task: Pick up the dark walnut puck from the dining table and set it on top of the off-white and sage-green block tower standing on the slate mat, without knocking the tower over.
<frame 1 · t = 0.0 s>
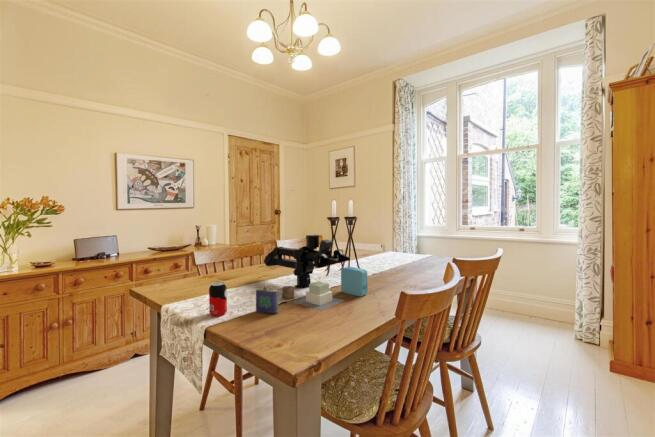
hand: (343, 260, 138), 17 cm above the table, tool horizontal, fingers open, 9 cm apart
tower top: (319, 292, 131), point 4 cm above the table, touching tower base
slate mat: (319, 302, 131), on the table
data package: (354, 294, 142), on the table
beverage can: (218, 314, 118), on the table
tower base: (319, 301, 131), resting on slate mat, touching tower top
flask: (266, 312, 119), on the table
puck: (288, 298, 136), on the table
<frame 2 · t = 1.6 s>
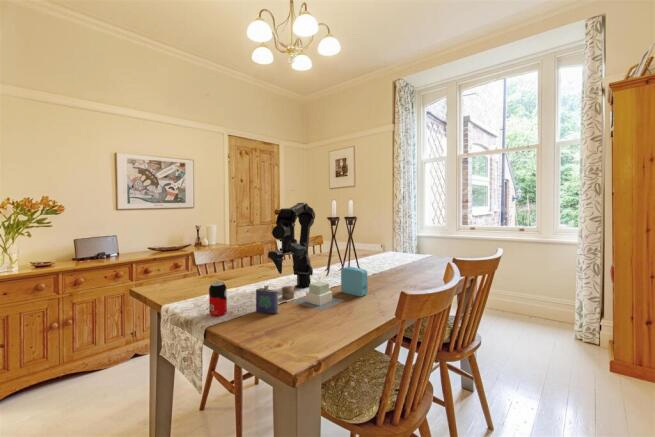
hand: (288, 271, 135), 12 cm above the table, tool pointing down, fingers open, 9 cm apart
nothing on the table moved.
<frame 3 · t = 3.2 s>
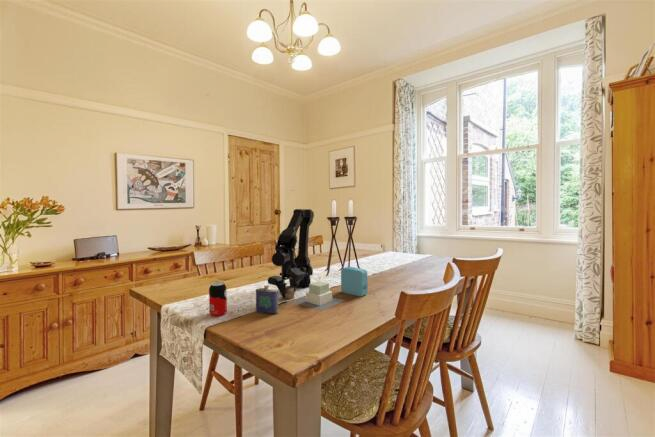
hand: (288, 296, 136), 1 cm above the table, tool pointing down, fingers closed on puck, 5 cm apart
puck: (288, 298, 136), on the table, touching gripper
everything else where it was.
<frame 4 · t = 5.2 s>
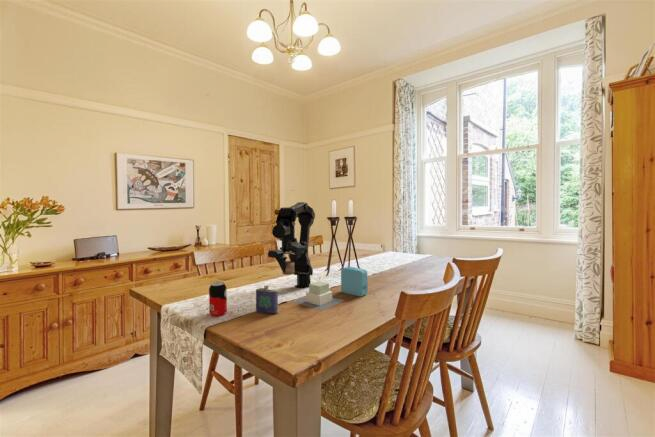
hand: (288, 270, 135), 12 cm above the table, tool pointing down, fingers closed on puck, 5 cm apart
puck: (288, 273, 135), point 11 cm above the table, touching gripper
everything else where it was.
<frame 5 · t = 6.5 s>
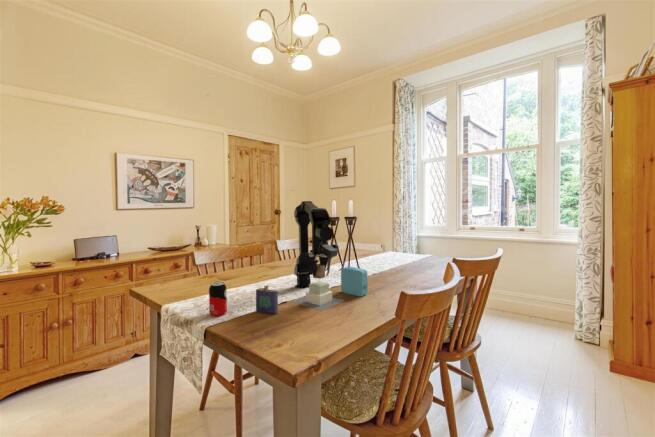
hand: (318, 274, 130), 12 cm above the table, tool pointing down, fingers closed on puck, 5 cm apart
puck: (318, 276, 130), point 11 cm above the table, touching gripper
everything else where it was.
when the fingers open (10 cm above the table, at t = 7.3 s): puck stays where it is, resting on tower top.
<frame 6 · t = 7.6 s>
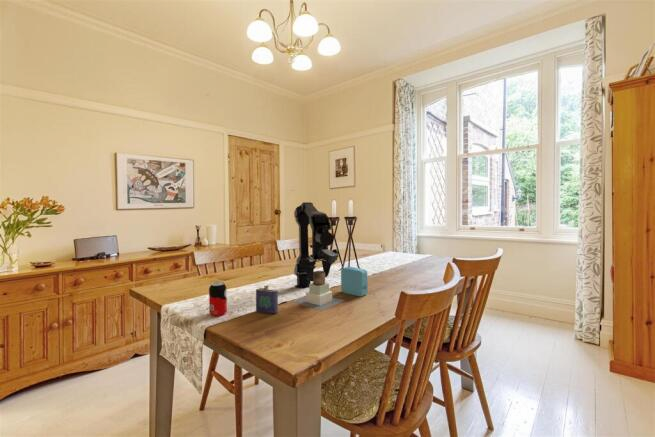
hand: (319, 279, 130), 10 cm above the table, tool pointing down, fingers open, 9 cm apart
tower top: (319, 292, 131), point 4 cm above the table, touching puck, tower base
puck: (319, 283, 131), point 8 cm above the table, touching tower top
everything else where it was.
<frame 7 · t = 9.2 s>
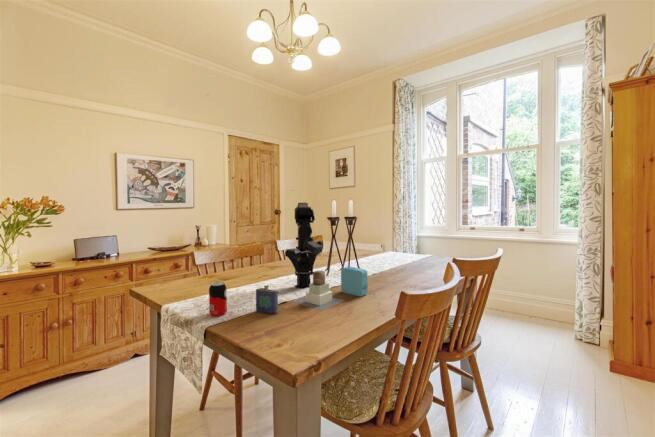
hand: (304, 269, 136), 13 cm above the table, tool pointing down, fingers open, 9 cm apart
nothing on the table moved.
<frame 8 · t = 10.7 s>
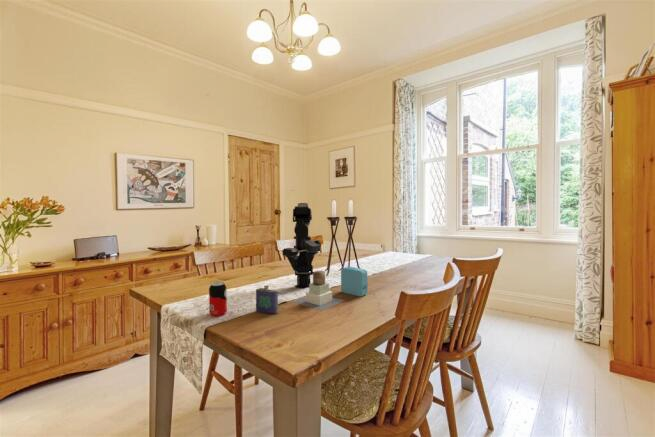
hand: (302, 269, 137), 13 cm above the table, tool pointing down, fingers open, 9 cm apart
nothing on the table moved.
at the end: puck 0.0 cm off-centre on the tower top, point 3.6 cm above the tower top's base; tower top 0.0 cm off-centre on the tower base, point 4.0 cm above the tower base's base; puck tilted 0° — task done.
